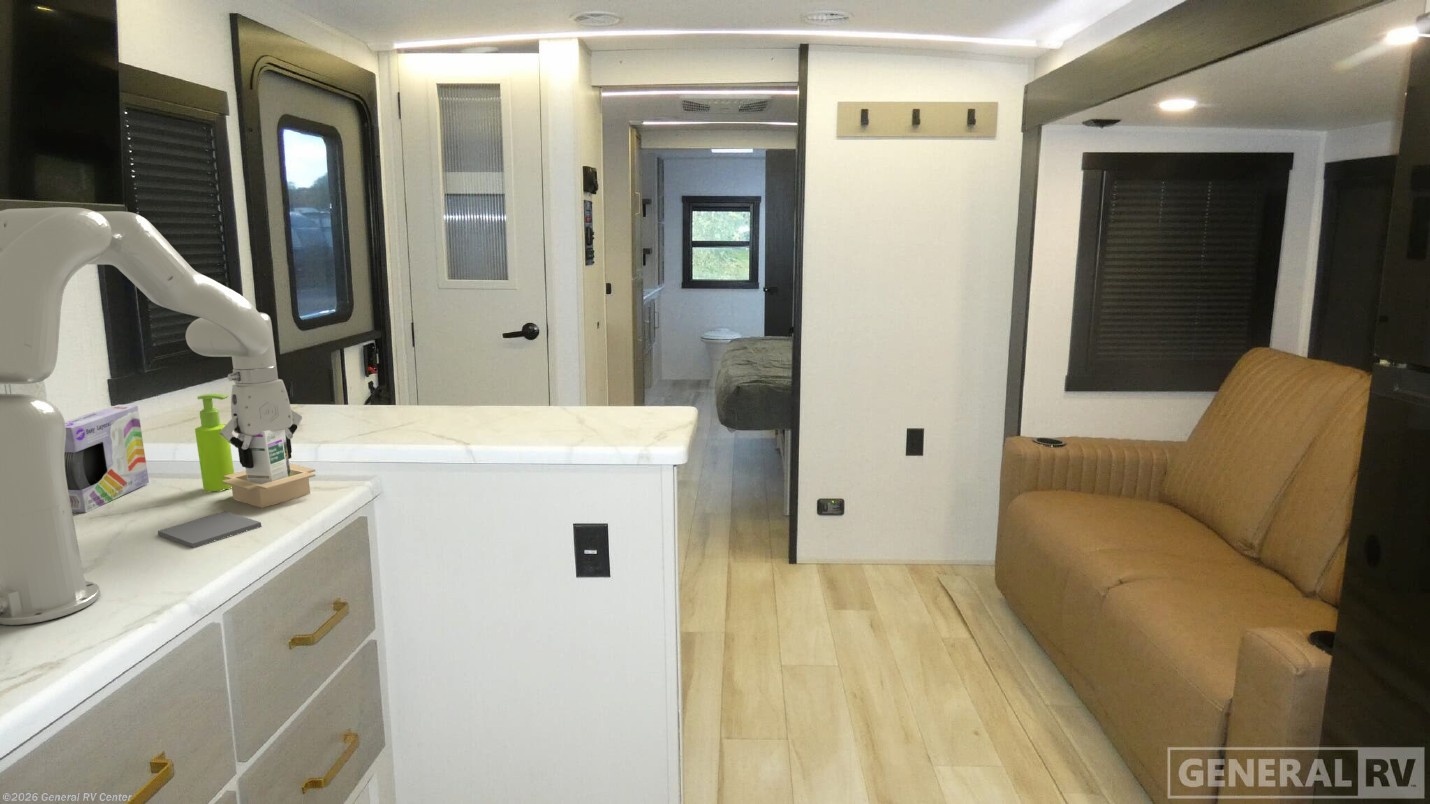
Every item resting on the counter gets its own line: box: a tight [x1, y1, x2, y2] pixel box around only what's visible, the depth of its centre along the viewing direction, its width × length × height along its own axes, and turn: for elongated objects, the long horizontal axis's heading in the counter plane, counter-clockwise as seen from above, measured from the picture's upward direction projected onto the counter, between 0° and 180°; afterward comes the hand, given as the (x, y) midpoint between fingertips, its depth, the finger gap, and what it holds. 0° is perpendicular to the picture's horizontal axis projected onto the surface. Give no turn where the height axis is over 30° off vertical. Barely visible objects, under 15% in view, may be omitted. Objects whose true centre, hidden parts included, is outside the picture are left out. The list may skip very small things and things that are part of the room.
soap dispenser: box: [194, 393, 235, 492], centre depth 177 cm, size 6×7×20 cm
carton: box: [222, 462, 316, 509], centre depth 173 cm, size 14×15×4 cm
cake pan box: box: [64, 404, 150, 514], centre depth 171 cm, size 19×5×18 cm, turn 177°
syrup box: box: [244, 429, 291, 485], centre depth 171 cm, size 6×6×14 cm
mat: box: [157, 510, 262, 549], centre depth 154 cm, size 12×12×1 cm
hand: (267, 461), depth 171 cm, fingers closed on syrup box, 7 cm apart
